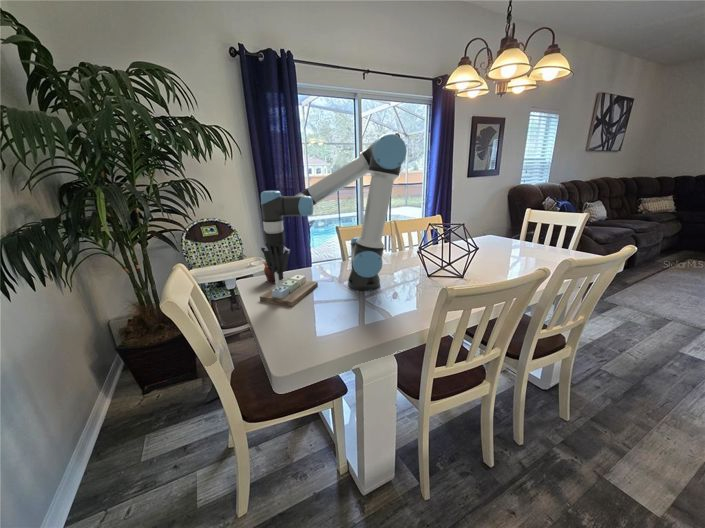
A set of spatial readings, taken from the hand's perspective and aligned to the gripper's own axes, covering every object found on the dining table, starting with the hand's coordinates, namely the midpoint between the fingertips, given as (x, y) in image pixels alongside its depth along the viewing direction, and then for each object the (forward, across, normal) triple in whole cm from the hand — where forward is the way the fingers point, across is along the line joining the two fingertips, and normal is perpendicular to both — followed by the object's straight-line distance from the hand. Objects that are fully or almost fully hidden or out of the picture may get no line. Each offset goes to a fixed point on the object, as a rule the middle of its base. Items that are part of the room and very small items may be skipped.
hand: (279, 286), depth 121 cm
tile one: (+4, 0, -14) cm, 15 cm away
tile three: (+4, 0, 0) cm, 4 cm away
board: (+6, 0, -7) cm, 9 cm away
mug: (+7, +16, -16) cm, 23 cm away
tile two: (+4, 0, -7) cm, 8 cm away
